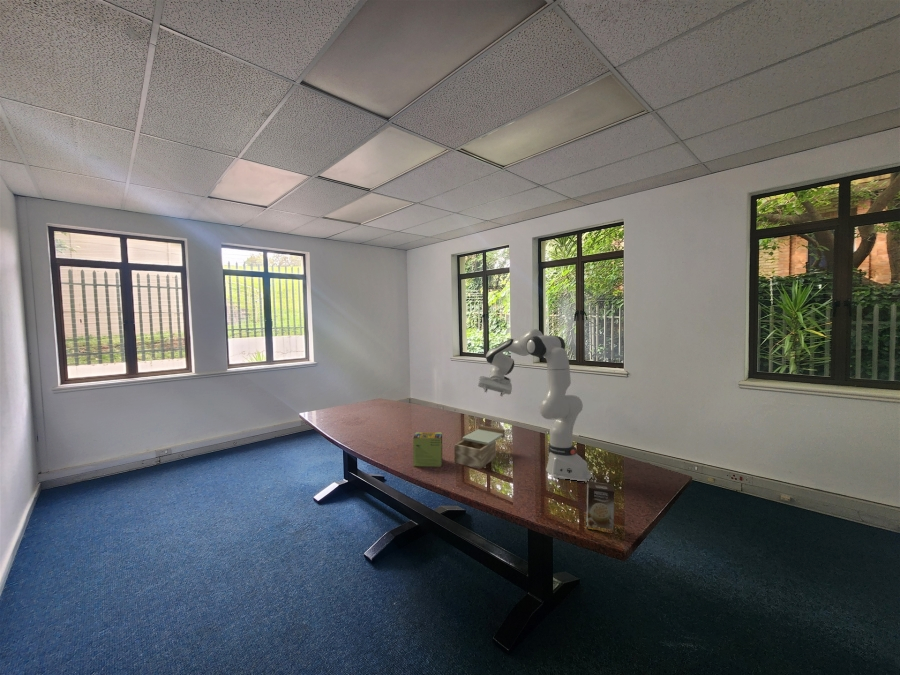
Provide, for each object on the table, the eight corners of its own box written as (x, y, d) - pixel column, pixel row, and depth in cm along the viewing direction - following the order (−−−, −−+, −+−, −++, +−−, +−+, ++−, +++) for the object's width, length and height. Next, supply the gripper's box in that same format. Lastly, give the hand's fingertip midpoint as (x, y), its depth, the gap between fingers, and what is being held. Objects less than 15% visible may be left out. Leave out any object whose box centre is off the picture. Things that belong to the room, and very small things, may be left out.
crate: (495, 458, 202) (495, 440, 202) (480, 469, 187) (480, 450, 187) (471, 452, 211) (471, 435, 211) (454, 462, 196) (454, 444, 196)
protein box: (441, 466, 191) (441, 438, 190) (412, 466, 191) (412, 437, 190) (442, 459, 201) (442, 431, 200) (415, 459, 202) (415, 431, 201)
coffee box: (586, 530, 133) (587, 487, 132) (586, 520, 139) (586, 480, 138) (613, 534, 130) (614, 491, 129) (612, 525, 136) (612, 483, 135)
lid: (504, 436, 211) (504, 429, 211) (488, 447, 194) (488, 439, 194) (479, 432, 220) (479, 425, 220) (462, 441, 203) (462, 433, 203)
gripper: (480, 371, 222) (477, 384, 211) (513, 379, 220) (511, 393, 208) (478, 379, 226) (475, 393, 214) (510, 387, 223) (509, 401, 212)
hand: (493, 393), depth 211 cm, fingers open, 8 cm apart
